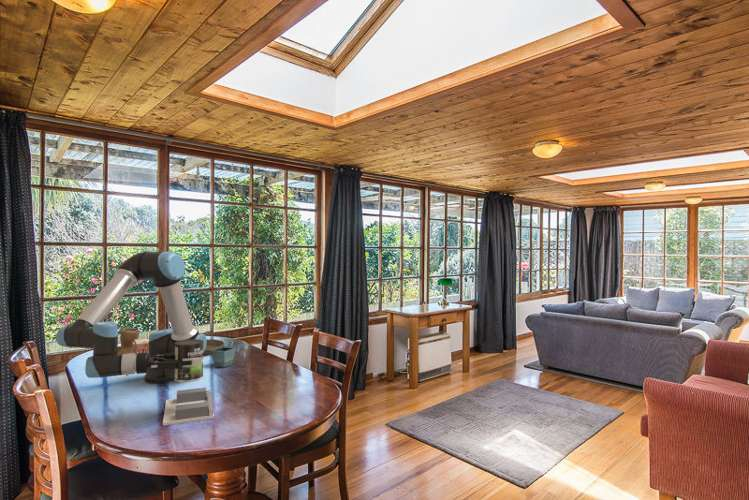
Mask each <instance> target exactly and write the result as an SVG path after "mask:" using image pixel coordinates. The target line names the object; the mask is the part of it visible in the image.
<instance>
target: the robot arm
mask: <svg viewBox="0 0 749 500" xmlns="http://www.w3.org/2000/svg"><path fill="white" fill-rule="evenodd" d="M185 269H186V263H185V261H184V259H183V258H182V256H181V255H179V254H178V253H176V252H174V251H173V252H171V251H141V252H137V253H136V254H134V255H132V256H130V257H129V258H127V259H126V260H125V261H123V262H122V263H121V264H120V265H119V266H118V267H117V268H116V269H115V271H114V273H113V274H114V276H112V277H111V279H110V280H109V281H108V283H107V284H106V285H105V286H104V287H103V288H102V289H101V291H99V293H98V294H97V295H96V296H95V298H94V299H93V300H91V302H90V303H89V304H88V306H87V307H86V308H85V309H84V310H83V311H82V312H81V314H79V316H77V318H76V319H75V321H73V323H72V324H71V325H65V326H62V327H60V328H59V329H58V331H57V332H56V335H55V340H56V343H57V344H58V345H59V346H61V347H64V348H70V349H71V348H76V349H77V348H79V349H80V348H84V349H92V355H91V356H89V357H87V358H86V361H85V369H84V370H85V375H86V377H87V378H90V379H94V378H96V379H97V378H101V379H102V378H108V377H117V376H125V377H129V376H130V375H135V374H137V375H143V374H144V382H145V383H147V384H164V383H170V382H173V381H174V382H175V380H174V379H175V369H182V366H183V367H186V366H196V365H201V362H202V358H189V359H183V361H182V360H175V342H177V341H181V340H190V339H198V340H203V341H204V343H203V353H204V351H205V348H206V344H207V339H208V338H207V336H206V335H205V334H203V333H200V332H199V329H198V327H197V326H196V325H194V323H193V321H192V318H191V315H190V311H189V308H188V305H187V301H186V299H185V295H184V292H183V289H182V286H181V281H182V280H183V277H184V274H185V271H186V270H185ZM145 279H146V280H151V281H152V285H153V286H154V287H155V288H157V289H158V290H159V292H160V295H161V299H162V301H163V305H164V308H165V310H166V315H167V317H168V320H169V322H170V326H171V328H166V329H160V330H156V331H155V330H154V331H153V332H151V333H150V334H149V335H148V341H149V342H148V343H149V354H148V353H147V352H145V353H138V354H137V355H136V354H135V353H130V354H121V355H120V354H118V347H119V346H118V345H119V342H118V341H119V331H118V323H116V322H115V321H104V320H105V319H106V318H107V317H108V315H109V314H110V313H111V311H112V310H113V309H114V308H115V306H116V305H117V304H118V303H119V302H120V301H121V299H122V298H123V297H124V296H125V294H126V293H127V292H128V291H129V289H130V288H131V287H134V286H136V285H137V284H138V282H139V281H142V280H145Z"/></svg>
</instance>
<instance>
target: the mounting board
mask: <svg viewBox="0 0 749 500" xmlns="http://www.w3.org/2000/svg"><path fill="white" fill-rule="evenodd" d="M201 402H207V396H206V400H200V401H192V402H184V403H177V398H171V399H166V400H165V407H164V411H163V412H164V414H163V418H162V427H165V426H169V425H179V424H186V423H191V422H192V423H193V422H199V421H206V420H212V419H213V420H214V419H215V413H214V410H213V416H209V411H208V416H202V417H195V418H188V419H180V420H175V409H176V406H177V405H185V404H193V403H201Z"/></svg>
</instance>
